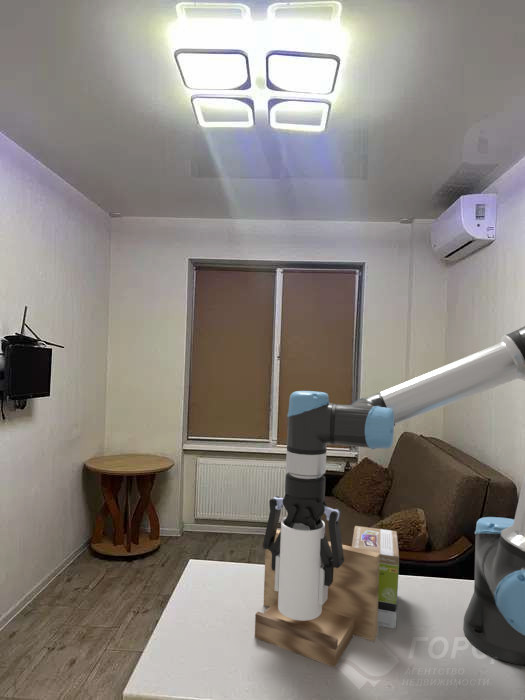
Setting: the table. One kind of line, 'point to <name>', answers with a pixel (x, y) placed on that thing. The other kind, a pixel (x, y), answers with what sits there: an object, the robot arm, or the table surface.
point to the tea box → (382, 568)
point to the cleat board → (326, 610)
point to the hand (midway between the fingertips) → (300, 594)
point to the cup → (300, 571)
